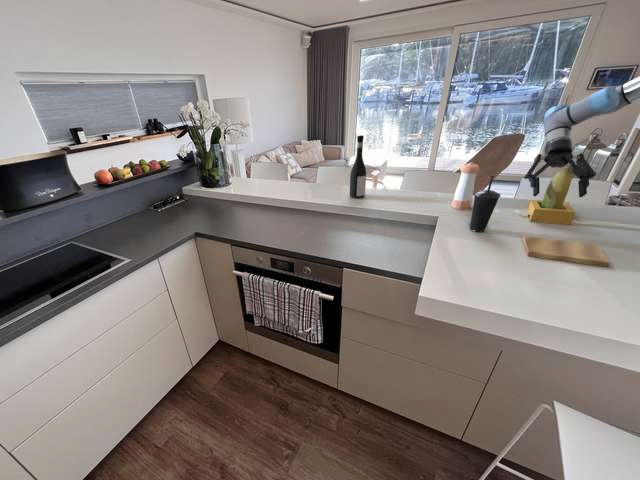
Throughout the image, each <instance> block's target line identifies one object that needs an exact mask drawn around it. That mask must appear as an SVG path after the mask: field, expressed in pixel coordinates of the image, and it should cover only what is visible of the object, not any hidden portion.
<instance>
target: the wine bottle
mask: <svg viewBox="0 0 640 480" xmlns="http://www.w3.org/2000/svg"><path fill="white" fill-rule="evenodd" d="M364 137H365V136H364V135H357V136H356V155H355V160H354V163H353V165H352V166H351V167H352V168H351V170H350V173H349V197H350V198H352V199H361V198H364V197H365V196H366V185H367V169H366V165H365V161H364V159H363V145H364Z"/></svg>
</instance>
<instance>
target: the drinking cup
mask: <svg viewBox="0 0 640 480" xmlns="http://www.w3.org/2000/svg"><path fill="white" fill-rule="evenodd" d="M490 176H491V177H490V180H489V183H488V187H487V189H481V190H478V191H475V192H474V193H473V195H474V199H473V205H472V210H471V211H472V212H471V217H470V223H469V230H470V229H471V230H475V231H484V230H485V231H486V228H487V226H488V224H489V221H490V219H491V217H492V215H493V212H494V210H495V208H496V206H497V203H498V201H499V198H501V193H499V192H497V191H495V190H492V189H491V187H492V184H493V180H494V177H495V175H490ZM471 230H470V231H471ZM485 231H484V232H485Z"/></svg>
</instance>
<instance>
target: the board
mask: <svg viewBox="0 0 640 480" xmlns="http://www.w3.org/2000/svg"><path fill="white" fill-rule="evenodd" d="M522 240H523V241H522V243H524V244H523V247H524V250H525V254H526V253H527V254H526V256H527V257H531V256H532V257H531V258H540V259H546V260H554V261H560V262H569V263H575V264H576V263H577V264H582V265H583V264H584V265H591V266H598V267H605V268H608V267H609V266H610V264H611V261H610V260H609V258H608V257H607V256H606V255H605V253H604V252H603V250H602V249H601V248H600V247H599V245H598V244H596V243H587V242H578V241H567V240H561V239H549V238H543V237H533V236H523V237H522Z"/></svg>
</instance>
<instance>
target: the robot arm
mask: <svg viewBox="0 0 640 480" xmlns="http://www.w3.org/2000/svg"><path fill="white" fill-rule="evenodd" d="M639 101H640V75H639V76H637V77H635V78H633V79H631V80H629V81H627V82H625V83H623V84H621V85H619V86H617V87H613V86H606V87H604V88H602V89H600V90H597V91H595V92H593V93H592V94H590V95H588V96H586V97H584V98H582V99H580V100H577V101H576V102H574V103H573V104H571V105H569V104H567V103H560V104H559V105H554V106H553V107H551V108H549V109H548V110H547V111H546V112H545V114H544V117H543V131H544V137H543V141H544V142H543V143H544V144H543V145H544V149H543V150H544V151H543V152H544V155H542V154H541V153H539V154H537V155H536V156H535V158H534V159H533V163H532V164H531V166H530V167H529V169H528V171H526V174H525V175H524V176H523V177H524V178H523V179H525V180H528V182H530V183H529V185H530V186H529V187H530V188H532V196H533V197H537V196H538V195H539V194H540V175H541V174H542V173H543V172H544V171H545V170H546V169H548V168H551V169H552V168H553V169H554V168H560V169H562V168H563V167H564V166H565V165H568V164H571V165H573V175H575V176H576V177H577V178H578V179H579V180H578V181H577V182H578V198H583V197H585V196H586V195H587V194H588V187H589V186H590V180H592V179H594V177H595V176H597V173H596V171H595V170H594V168H592V166H591V165H590V164H589V163H588V161H587V160H586V159H585V155H584V153H582V152H581V153H579V154H573V153H572V152H573V142H572V140H573V135H572V127H574V126H577V125H579V124H581V123H583V122H585V121H587V120H590V119H592V118H594V117H599V116H603V115H611V114H613V113H615V112H617V111H620V110H621V109H622V108H625V107H627V106H629V105H632V104H633V103H636V102H639ZM542 161H544V162H545V164H544V165H543V166H541V167H540V168H539V169H538V170H537V171H536V172H535V173H534V174H533V172H534V171H535V170H536V168H537V167H538V165H539V164H540V163H541V162H542Z"/></svg>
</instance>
